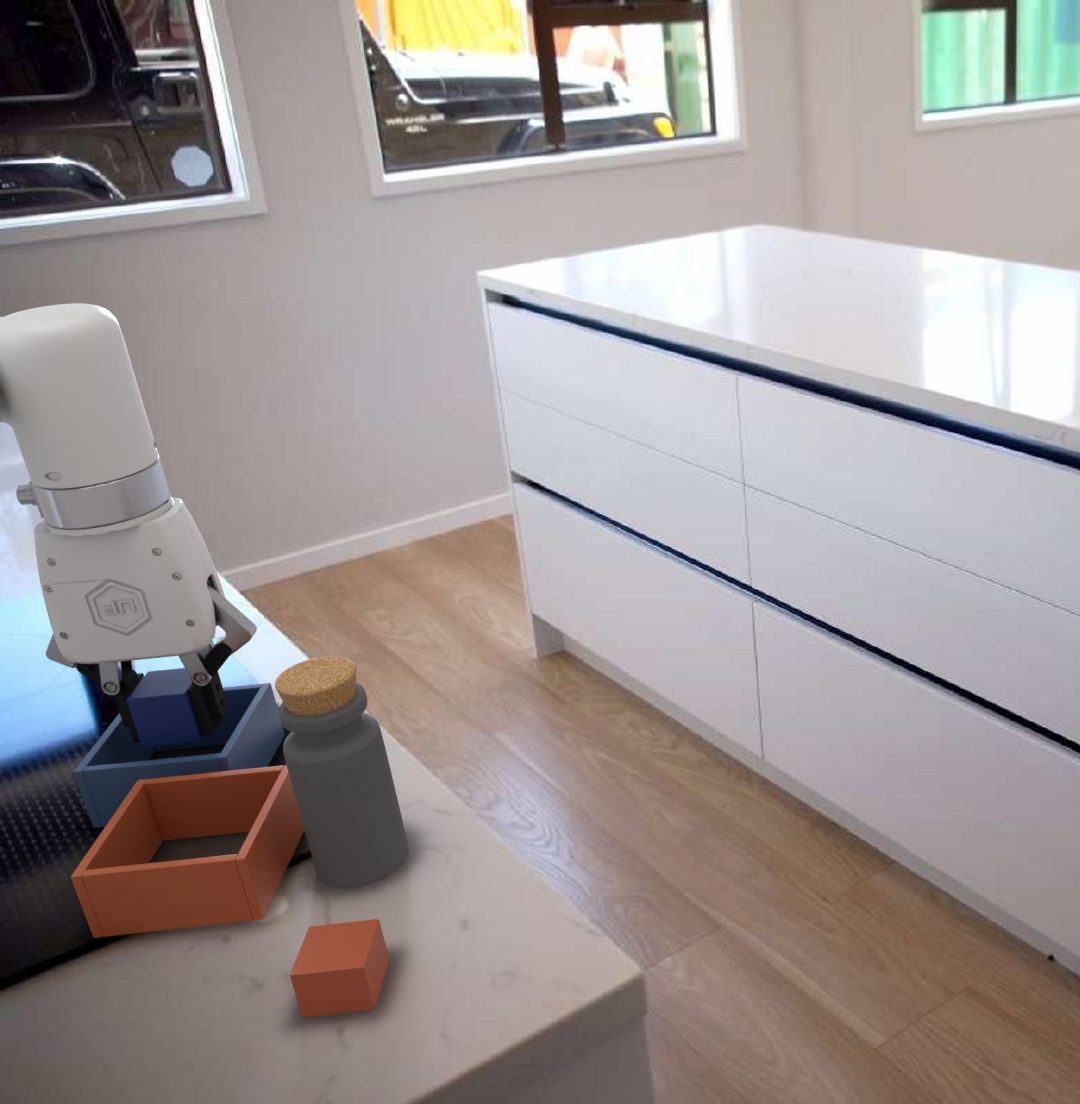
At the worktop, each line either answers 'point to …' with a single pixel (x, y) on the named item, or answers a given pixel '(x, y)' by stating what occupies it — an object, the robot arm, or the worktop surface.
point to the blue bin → (124, 762)
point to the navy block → (164, 709)
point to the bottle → (340, 774)
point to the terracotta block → (340, 968)
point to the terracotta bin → (192, 884)
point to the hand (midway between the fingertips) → (180, 726)
